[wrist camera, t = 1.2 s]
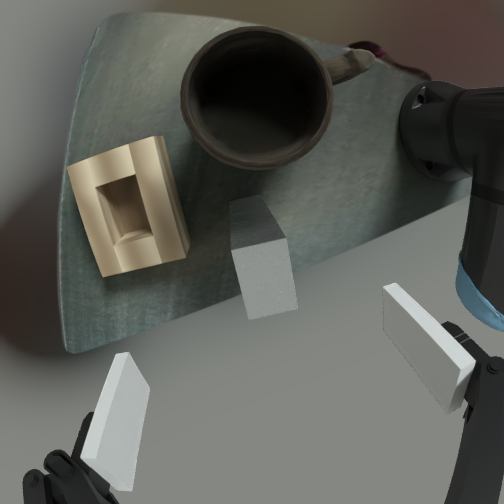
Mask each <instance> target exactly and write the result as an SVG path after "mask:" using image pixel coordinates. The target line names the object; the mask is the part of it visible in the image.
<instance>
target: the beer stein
mask: <svg viewBox="0 0 504 504" xmlns="http://www.w3.org/2000/svg"><path fill="white" fill-rule="evenodd" d="M374 63H375V55H373V54H372V53H371V52H370V51H367V50H363V49H353V50H351V51H349V52H347V53H345V54H343V55H341V56H339V57H336V58H333V59H330V60H327V61H323V62H322V61H321V59H320V58H319V56H318V55H317V54H316V53H315V51H314V50H313V49H312V48H311V47H310V46H308V45H307V44H306V43H305V42H303V41H302V40H300V39H299V38H297V37H295V36H293V35H291V34H289V33H287V32H285V31H283V30H280V29H276V28H272V27H268V26H246V27H239V28H236V29H233V30H230V31H227V32H224V33H222V34H220V35H218V36H216V37H214V38H213V39H212V40H210V41H209V42H208V43H206V44H205V45H204V46H203V47H202V48H201V49H200V50H199V51H198V52H197V53H196V54H195V55H194V57H193V59H192V60H191V62H190V63H189V65H188V67H187V69H186V71H185V73H184V76H183V80H182V84H181V91H180V98H181V111H182V115H183V119H184V121H185V123H186V125H187V127H188V129H189V131H190V133H191V135H192V136H193V137H194V138H195V140H196V141H197V142H198V143H199V144H200V146H201V147H202V148H203V149H205V150H206V151H207V152H208V153H209V154H210V155H211V156H213V157H214V158H216V159H217V160H219V161H221V162H223V163H226V164H228V165H231V166H234V167H237V168H240V169H248V170H268V169H275V168H279V167H282V166H285V165H288V164H290V163H292V162H294V161H296V160H298V159H299V158H301V157H302V156H304V155H305V154H307V153H308V152H309V151H310V150H312V148H313V147H314V146H315V145H316V144H317V143H318V142H319V141H320V139H321V138H322V136H323V135H324V133H325V132H326V130H327V128H328V125H329V123H330V121H331V117H332V112H333V108H334V93H333V85H336V84H340V83H342V82H345V81H347V80H350V79H352V78H354V77H356V76H358V75H359V74H361V73H364V72H365V71H367V70H369V69H370V68H371V67H372V66H373V65H374Z"/></svg>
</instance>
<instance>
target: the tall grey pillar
mask: <svg viewBox="0 0 504 504" xmlns="http://www.w3.org/2000/svg"><path fill="white" fill-rule="evenodd" d="M229 213H230V238H231V252H232V256H233V260H234V264H235V268H236V272H237V276H238V280H239V284H240V288H241V292H242V296H243V299H244V303H245V307H246V311H247V315H248V319H249V320H251V319H255V318H260V317H264V316H269V315H273V314H278V313H282V312H286V311H290V310H294V309H298V304H297V298H296V293H295V286H294V280H293V274H292V268H291V263H290V257H289V251H288V245H287V240H286V237H285V235H284V233H283V232H282V230H281V228H280V227H279V225H278V223H277V222H276V220H275V218H274V217H273V215H272V213H271V212H270V210H269V208H268V207H267V205H266V203H265V202H264V200H263V198H262V197H261V195H260V194H259V195H255V196H250V197H246V198H241V199H237V200H232V201H229Z"/></svg>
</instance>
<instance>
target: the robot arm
mask: <svg viewBox="0 0 504 504" xmlns="http://www.w3.org/2000/svg"><path fill="white" fill-rule="evenodd" d="M400 134H401V139H402V143H403V146H404V149H405V151H406V153H407V155H408V157H409V159H410V160H411V162H412V163H413V165H414V166H415V167H416V168H417V169H418V170H419V171H420V172H421V173H423V174H424V175H426V176H428V177H430V178H433V179H437V180H441V181H456V180H460V179H464V178H468V177H472V176H473V177H472V188H471V196H470V204H469V210H468V218H467V223H466V229H465V235H464V241H463V245H462V250H461V251H460V253H459V265H458V271H457V276H456V283H455V284H456V291H457V294H458V296H459V298H460V299H461V302H462V303H463V305H464V306H465V308H466V309H467V310H468V311H469V312H470V313H471V314H472V315H473V316H474V317H476V318H477V319H478V320H480V321H481V322H483V323H484V324H486V325H488V326H489V327H491V328H493V329H496V330H499V331H502V332H504V87H488V88H475V89H466V88H463V87H460V86H457V85H455V84H451V83H449V82H445V81H430V82H424V83H421V84H419V85H417V86H416V87H414V88H413V89H412V90H411V91H410V92H409V93H408V95H407V96H406V98H405V100H404V102H403V105H402V109H401V113H400ZM383 330H384V331H385V333H386V334H387V335H388V336H389V338H390V339H391V340H392V341H393V343H394V344H395V346H396V347H397V348H398V349H399V351H400V352H401V353H402V355H403V356H404V357H405V359H406V360H407V361H408V363H409V364H410V365H411V367H412V368H413V369H414V371H415V372H416V373H417V375H418V376H419V377H420V379H421V380H422V381H423V383H424V384H425V385H426V387H427V388H428V390H429V391H430V392H431V394H432V395H433V397H434V398H435V399H436V401H437V402H438V404H439V405H440V406H441V408H442V409H443V411H444V412H445V413H446V414H449V413H450V412H452V411H454V410H456V409H458V408H459V407H461V404H462V402H463V399H465V400H466V401H467V402H468V406H467V408H466V411H465V413H464V416H463V418H465V422H464V428H463V433H462V439H461V443H460V448H459V453H458V457H457V462H456V465H455V469H454V473H453V476H452V480H451V484H450V487H449V490H448V493H447V497H446V500H445V503H444V504H498V500H499V495H500V491H501V486H502V480H503V475H504V359H502V358H501V357H497V356H494V357H490V356H488V354H486V353H485V352H484V351H483V350H482V349H481V348H480V347H479V346H478V345H477V344H476V343H475V342H474V341H473V340H472V339H470V337H469V336H468V335H467V334H466V333H464V331H462V329H461V328H460V327H458V326H457V325H455V324H453V323H451V322H448V321H447V322H445V323H443V324H441V325H440V324H439V323H438V322H437V321H436V320H435V319H434V318H433V317H432V316H431V315H430V314H429V313H428V312H427V311H425V310H424V309H423V308H422V307H421V306H420V305H419V304H418V303H417V302H416V301H415V300H414V299H413V298H412V297H411V296H410V295H408V294H407V293H406V292H405V291H404V290H403V289H402V288H401V287H400V286H399V285H398V284H396V283H392V284H389V285H386V286H384V287H383ZM149 393H150V388H149V386H148V385H147V383H146V381H145V380H144V378H143V376H142V375H141V373H140V371H139V370H138V368H137V366H136V364H135V363H134V361H133V359H132V357H131V355H130V354H129V352H125V353H119V354H116V355H115V358H114V361H113V363H112V366H111V368H110V371H109V374H108V376H107V379H106V382H105V384H104V387H103V390H102V393H101V395H100V398H99V401H98V404H97V407H96V410H95V412H89V413H88V415H87V416H86V417H85V419H84V420H83V422H82V425H81V428H80V429H81V430H80V431H79V434H78V437H77V440H76V443H75V446H74V449H73V452H72V455H71V457H70V456H69V455H68V454H67V453H66V452H65V451H63V450H54V451H52V452H50V453H49V454H48V455H47V457H46V458H45V460H44V469H45V470H47V471H48V472H49V473H50V474H48V475H44V474H43V473H42V472H41V471H39V470H37V469H32V470H30V471H28V472H27V473H26V474H25V476H24V478H23V496H24V504H119V503H118V501H117V500H116V498H115V497H114V495H113V494H112V493H111V492H110V491H109V488H110V485H111V486H113V487H114V488H115V489H116V490H119V491H133V482H134V477H135V470H136V464H137V457H138V451H139V445H140V440H141V434H142V429H143V423H144V418H145V412H146V407H147V403H148V397H149Z"/></svg>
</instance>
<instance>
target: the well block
mask: <svg viewBox="0 0 504 504" xmlns="http://www.w3.org/2000/svg"><path fill="white" fill-rule="evenodd" d="M67 169H68V173H69V177H70V180H71V184H72V188H73V191H74V195H75V198H76V202H77V205H78V208H79V211H80V215H81V218H82V221H83V224H84V227H85V230H86V233H87V236H88V239H89V242H90V245H91V247H92V250H93V253H94V256H95V258H96V261H97V264H98V266H99V269H100V272H101V274H102V277H106V276H111V275H115V274H119V273H123V272H128V271H132V270H136V269H140V268H145V267H149V266H153V265H158V264H162V263H166V262H171V261H175V260H179V259H184V258H186V256H187V253H188V250H189V247H190V244H191V238H190V234H189V231H188V227H187V224H186V220H185V216H184V213H183V209H182V205H181V202H180V198H179V194H178V190H177V186H176V182H175V179H174V175H173V171H172V167H171V163H170V159H169V154H168V150H167V146H166V142H165V138H164V137H161V136H152V137H149V138H146V139H142V140H139V141H136V142H133V143H130V144H127V145H124V146H121V147H118V148H115V149H113V150H110V151H107V152H104V153H101V154H99V155H96V156H93V157H91V158H88V159H86V160H83V161H81V162H78V163H76V164H73V165H71V166H68V167H67Z"/></svg>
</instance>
